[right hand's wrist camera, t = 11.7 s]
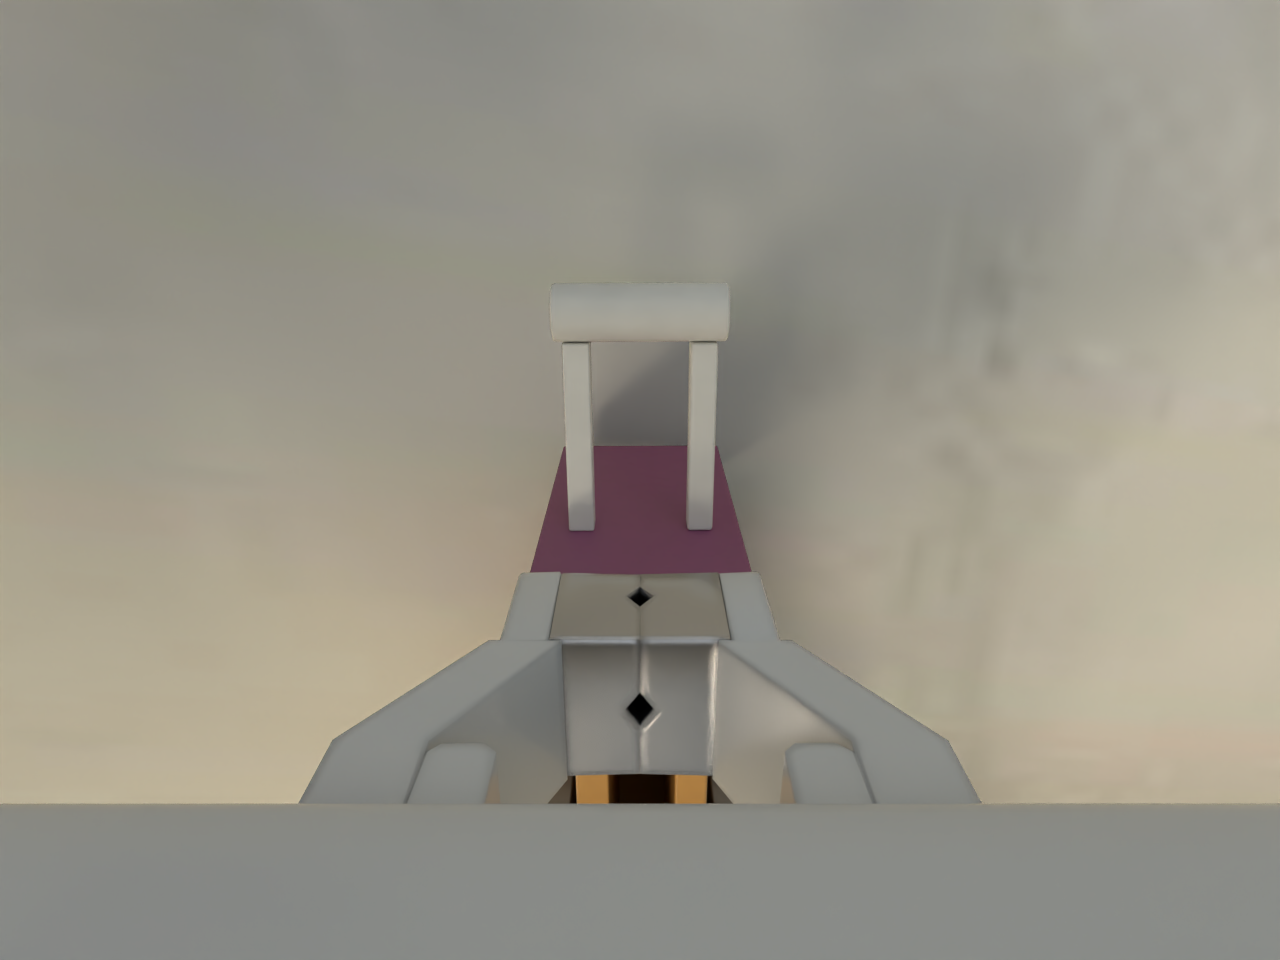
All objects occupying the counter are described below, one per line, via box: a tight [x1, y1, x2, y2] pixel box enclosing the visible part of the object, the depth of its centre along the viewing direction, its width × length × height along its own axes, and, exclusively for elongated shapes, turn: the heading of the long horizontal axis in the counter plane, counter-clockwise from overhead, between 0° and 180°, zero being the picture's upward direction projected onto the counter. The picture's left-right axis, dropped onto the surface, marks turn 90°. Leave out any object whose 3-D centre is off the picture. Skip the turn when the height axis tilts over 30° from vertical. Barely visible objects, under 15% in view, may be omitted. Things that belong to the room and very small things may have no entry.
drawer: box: [530, 283, 752, 804], centre depth 22 cm, size 21×5×8 cm, turn 0°
